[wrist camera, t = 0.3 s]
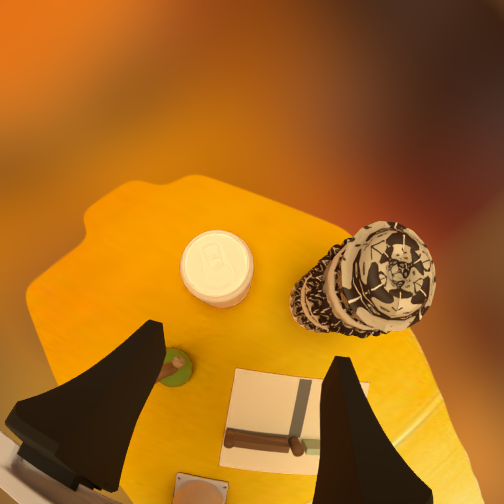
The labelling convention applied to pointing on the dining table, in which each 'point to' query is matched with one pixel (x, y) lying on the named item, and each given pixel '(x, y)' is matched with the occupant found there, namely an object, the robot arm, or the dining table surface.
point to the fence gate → (311, 446)
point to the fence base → (262, 442)
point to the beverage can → (217, 268)
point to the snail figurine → (175, 368)
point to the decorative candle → (367, 284)
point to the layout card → (274, 419)
